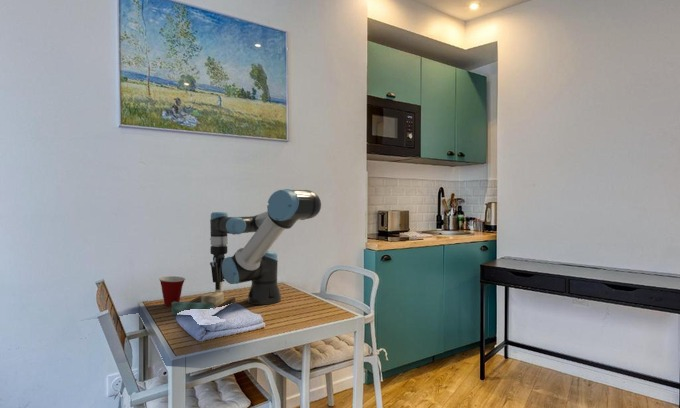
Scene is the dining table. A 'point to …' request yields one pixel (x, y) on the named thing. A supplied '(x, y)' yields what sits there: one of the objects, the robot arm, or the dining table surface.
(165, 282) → the plastic cup
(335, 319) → the dining table surface
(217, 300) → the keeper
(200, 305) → the guide track
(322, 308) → the dining table surface
